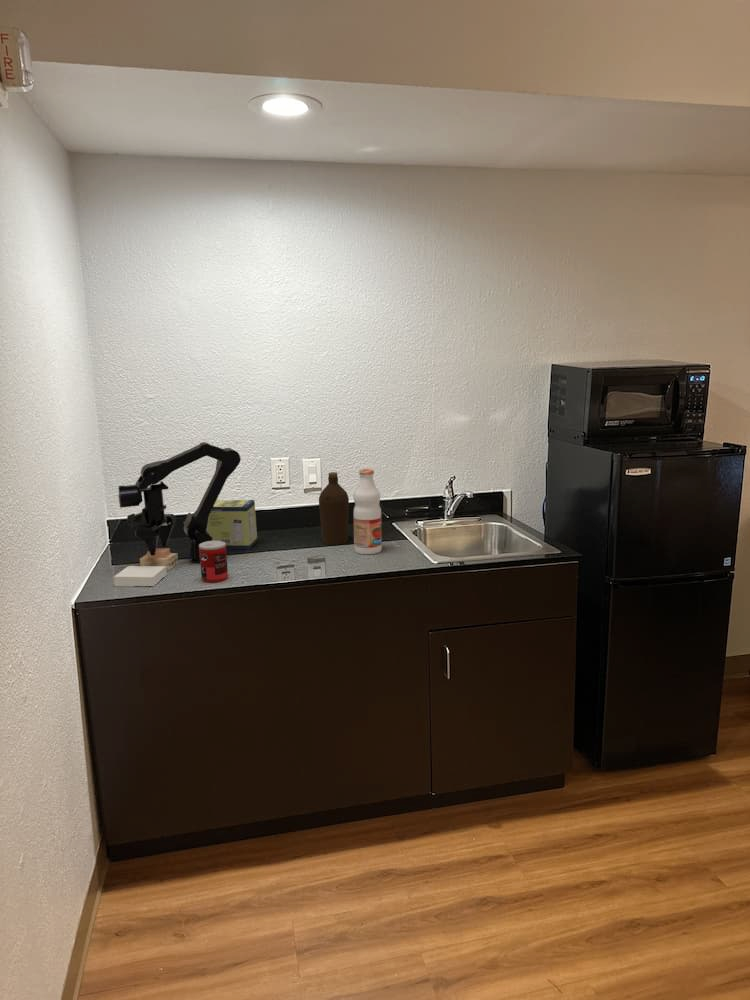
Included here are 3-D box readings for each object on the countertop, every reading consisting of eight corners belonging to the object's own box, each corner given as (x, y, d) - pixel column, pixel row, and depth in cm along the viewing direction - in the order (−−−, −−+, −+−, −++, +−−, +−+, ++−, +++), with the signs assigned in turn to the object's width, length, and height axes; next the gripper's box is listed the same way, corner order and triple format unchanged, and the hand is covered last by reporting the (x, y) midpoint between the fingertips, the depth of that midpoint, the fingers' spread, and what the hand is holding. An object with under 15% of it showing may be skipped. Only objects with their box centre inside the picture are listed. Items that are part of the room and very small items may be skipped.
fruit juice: (355, 546, 238) (353, 467, 232) (382, 546, 237) (381, 467, 231) (353, 554, 229) (350, 473, 222) (381, 555, 228) (379, 472, 222)
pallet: (178, 563, 223) (177, 553, 223) (170, 570, 217) (169, 559, 216) (149, 563, 224) (148, 552, 224) (140, 569, 218) (139, 559, 217)
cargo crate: (170, 554, 222) (169, 548, 221) (165, 558, 218) (165, 552, 217) (152, 554, 222) (152, 548, 222) (147, 557, 218) (146, 552, 218)
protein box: (216, 541, 248) (212, 499, 245) (257, 541, 247) (255, 499, 243) (206, 549, 238) (203, 506, 235) (250, 549, 237) (247, 506, 233)
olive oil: (351, 544, 240) (349, 475, 235) (321, 546, 239) (319, 476, 233) (348, 536, 251) (346, 469, 245) (319, 538, 249) (316, 471, 243)
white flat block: (166, 575, 211) (165, 566, 211) (153, 586, 202) (152, 577, 201) (129, 575, 213) (128, 565, 212) (114, 586, 203) (113, 576, 202)
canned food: (203, 575, 211) (200, 541, 209) (229, 573, 212) (227, 539, 210) (199, 583, 204) (196, 548, 201) (226, 582, 205) (224, 547, 202)
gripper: (142, 497, 226) (146, 542, 229) (116, 511, 208) (121, 559, 211) (174, 497, 225) (178, 542, 228) (151, 511, 207) (156, 560, 210)
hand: (158, 550), depth 220 cm, fingers open, 9 cm apart
